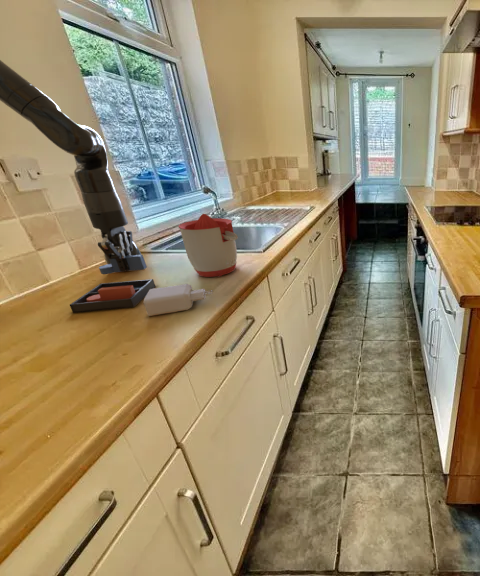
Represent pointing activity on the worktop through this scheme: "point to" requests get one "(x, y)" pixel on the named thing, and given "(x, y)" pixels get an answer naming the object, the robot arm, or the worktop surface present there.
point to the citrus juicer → (210, 245)
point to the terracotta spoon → (113, 293)
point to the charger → (172, 299)
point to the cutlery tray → (140, 292)
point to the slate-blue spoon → (133, 261)
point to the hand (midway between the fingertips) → (127, 269)
